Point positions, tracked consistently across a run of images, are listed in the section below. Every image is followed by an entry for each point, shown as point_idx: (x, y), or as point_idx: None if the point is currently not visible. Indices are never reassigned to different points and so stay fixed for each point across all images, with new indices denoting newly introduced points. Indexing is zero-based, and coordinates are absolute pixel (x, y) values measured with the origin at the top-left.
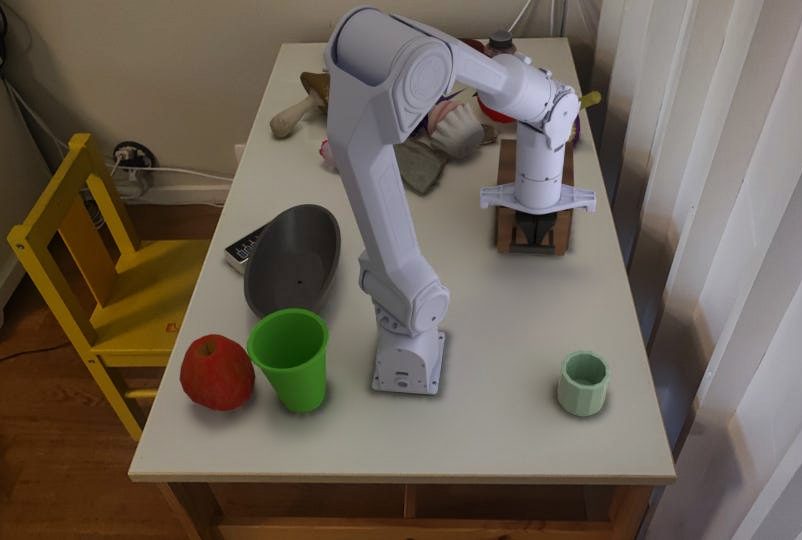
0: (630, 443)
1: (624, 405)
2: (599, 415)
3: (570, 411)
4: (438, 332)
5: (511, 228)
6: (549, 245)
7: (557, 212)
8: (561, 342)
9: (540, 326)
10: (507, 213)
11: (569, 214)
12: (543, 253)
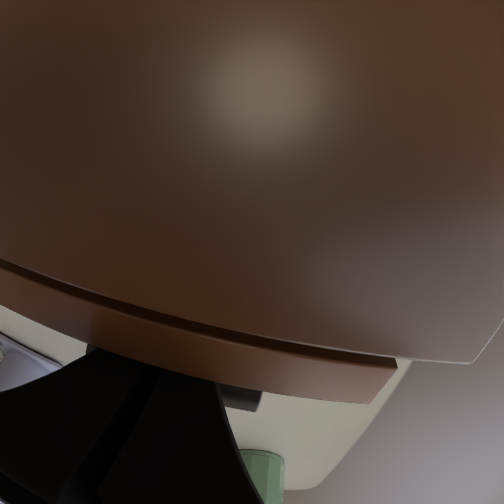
0: (291, 482)
1: (304, 467)
2: None
3: None
4: (51, 365)
5: None
6: (235, 400)
7: (311, 376)
8: (248, 417)
9: None
10: (7, 306)
11: (381, 389)
12: None
